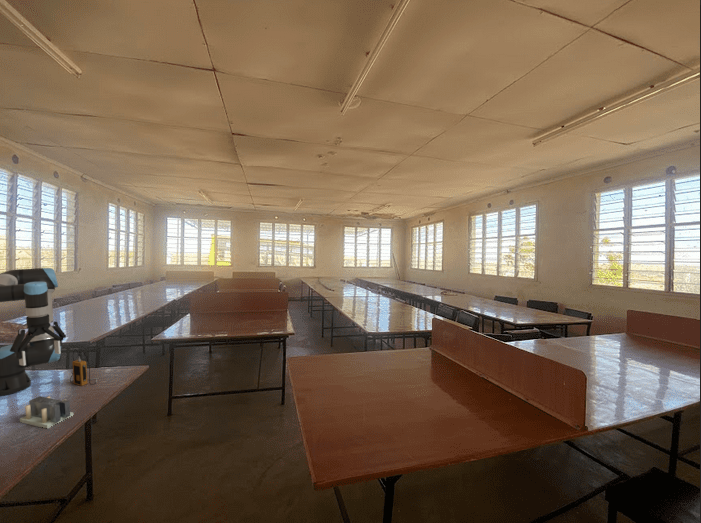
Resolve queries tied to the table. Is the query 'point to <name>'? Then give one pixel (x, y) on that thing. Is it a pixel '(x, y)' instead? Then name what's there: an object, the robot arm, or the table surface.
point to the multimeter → (80, 371)
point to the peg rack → (39, 421)
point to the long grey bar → (50, 408)
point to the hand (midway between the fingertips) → (41, 359)
